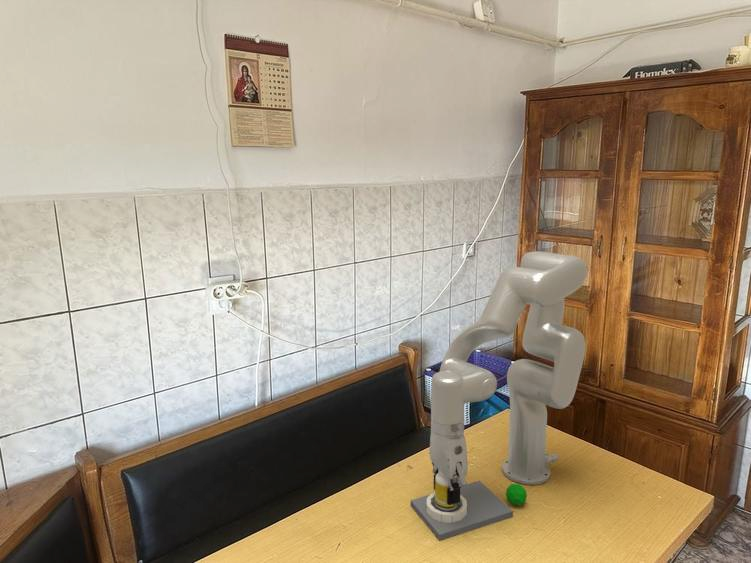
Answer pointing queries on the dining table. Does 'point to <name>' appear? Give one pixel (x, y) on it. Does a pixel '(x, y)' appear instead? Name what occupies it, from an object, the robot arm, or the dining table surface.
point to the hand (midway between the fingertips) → (446, 495)
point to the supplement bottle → (442, 492)
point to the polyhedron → (516, 494)
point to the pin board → (475, 511)
